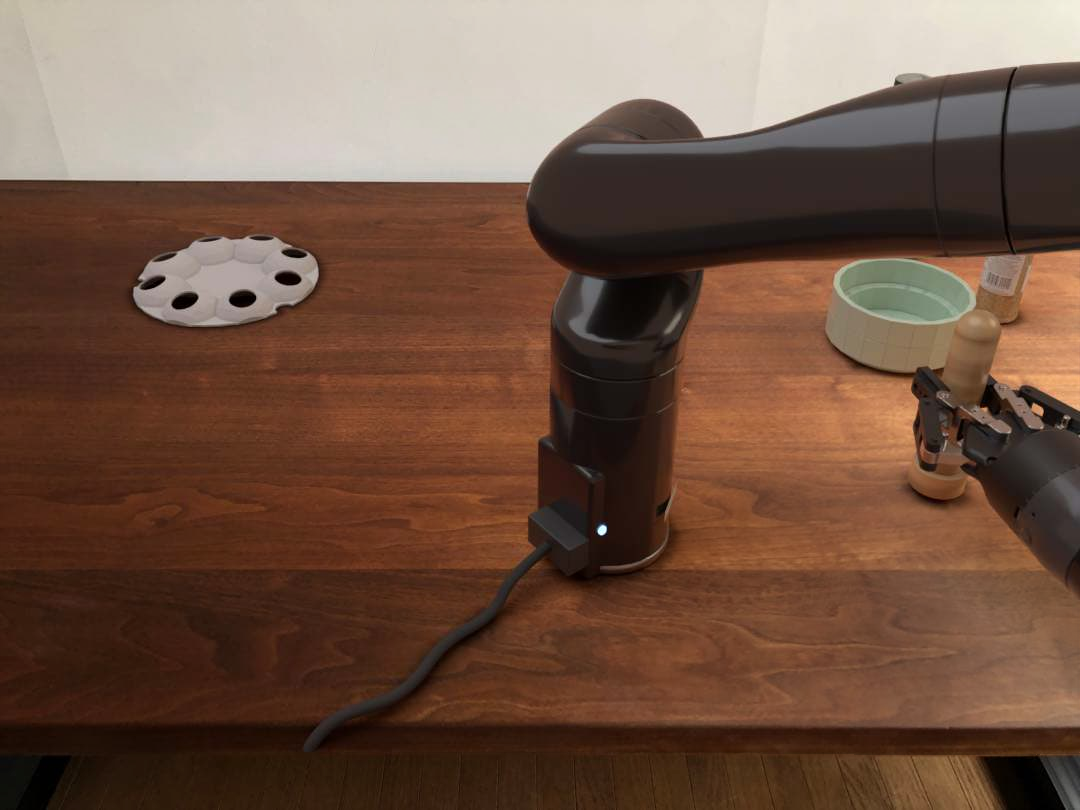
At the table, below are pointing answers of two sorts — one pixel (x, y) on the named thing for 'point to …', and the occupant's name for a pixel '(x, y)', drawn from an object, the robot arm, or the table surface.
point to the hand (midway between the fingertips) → (941, 373)
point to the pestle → (961, 393)
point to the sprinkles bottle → (1003, 285)
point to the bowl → (896, 313)
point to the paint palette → (225, 280)
